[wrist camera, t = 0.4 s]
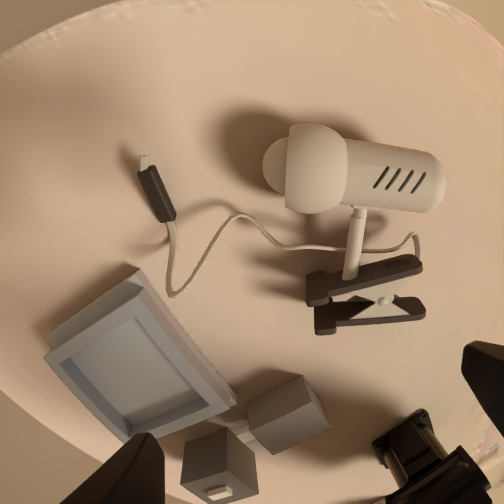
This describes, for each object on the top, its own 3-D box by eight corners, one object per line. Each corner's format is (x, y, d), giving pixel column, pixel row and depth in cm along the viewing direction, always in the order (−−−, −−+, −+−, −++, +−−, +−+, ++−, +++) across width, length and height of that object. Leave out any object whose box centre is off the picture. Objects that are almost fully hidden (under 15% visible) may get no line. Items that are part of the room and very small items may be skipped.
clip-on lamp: (169, 283, 23) (407, 307, 21) (129, 324, 18) (434, 356, 15) (167, 124, 20) (434, 144, 17) (117, 117, 14) (481, 144, 11)
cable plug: (320, 400, 23) (331, 427, 20) (250, 434, 24) (252, 463, 20) (302, 373, 23) (312, 401, 19) (227, 410, 23) (227, 440, 20)
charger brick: (254, 452, 24) (259, 499, 19) (214, 467, 25) (213, 512, 19) (227, 426, 23) (227, 476, 18) (185, 442, 24) (179, 490, 18)
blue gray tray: (236, 394, 23) (237, 417, 20) (142, 434, 23) (136, 454, 21) (140, 268, 20) (127, 281, 17) (50, 331, 20) (35, 346, 18)
